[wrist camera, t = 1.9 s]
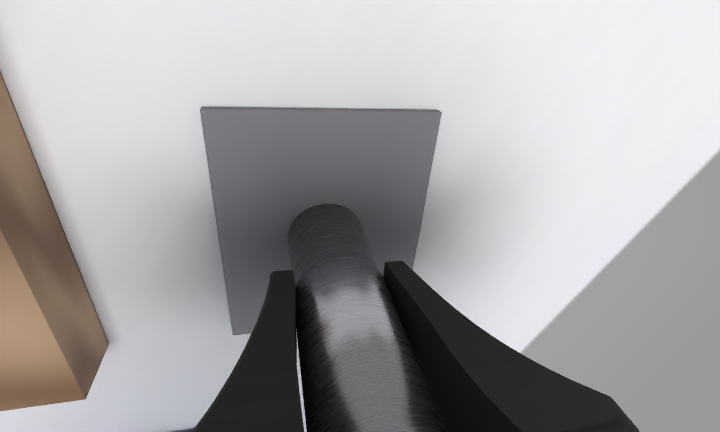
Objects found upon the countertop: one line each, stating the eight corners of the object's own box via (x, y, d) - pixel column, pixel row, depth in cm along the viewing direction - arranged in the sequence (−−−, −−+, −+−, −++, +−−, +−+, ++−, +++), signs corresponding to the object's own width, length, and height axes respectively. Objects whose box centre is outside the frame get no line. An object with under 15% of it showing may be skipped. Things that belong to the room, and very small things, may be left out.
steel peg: (359, 263, 16) (463, 562, 8) (288, 268, 15) (320, 602, 7) (365, 201, 15) (502, 494, 6) (286, 205, 14) (323, 537, 6)
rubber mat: (401, 310, 19) (403, 315, 18) (233, 330, 17) (233, 335, 17) (438, 110, 14) (441, 112, 13) (201, 107, 12) (200, 109, 12)
